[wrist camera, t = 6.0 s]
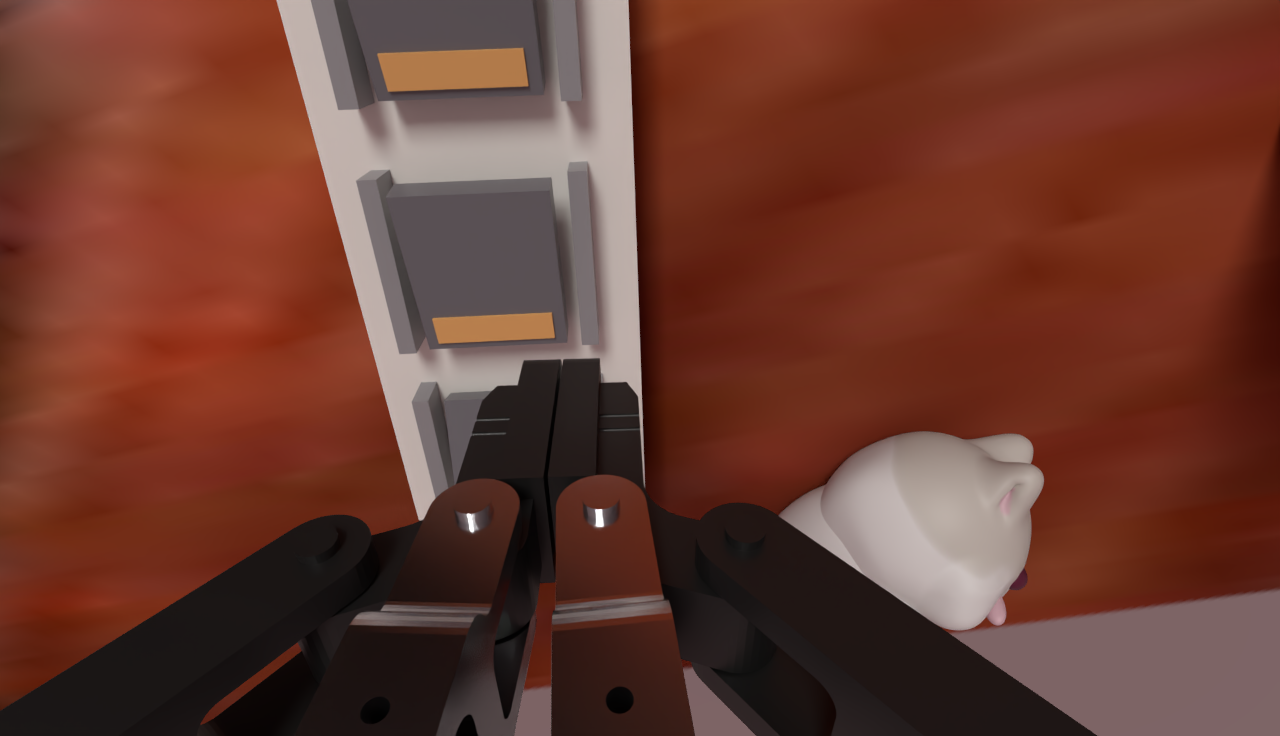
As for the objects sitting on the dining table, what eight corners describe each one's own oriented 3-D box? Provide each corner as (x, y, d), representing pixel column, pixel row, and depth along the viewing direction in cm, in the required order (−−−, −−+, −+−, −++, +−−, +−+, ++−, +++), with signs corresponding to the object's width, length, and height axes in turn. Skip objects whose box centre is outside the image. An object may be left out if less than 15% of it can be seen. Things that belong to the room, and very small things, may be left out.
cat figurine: (804, 763, 27) (1143, 600, 20) (679, 617, 29) (959, 415, 21) (839, 632, 36) (1088, 485, 29) (741, 523, 37) (957, 356, 30)
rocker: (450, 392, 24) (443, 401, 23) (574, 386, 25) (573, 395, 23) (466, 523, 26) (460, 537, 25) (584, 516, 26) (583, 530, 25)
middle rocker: (393, 183, 19) (384, 199, 18) (551, 177, 19) (548, 192, 19) (435, 332, 23) (429, 351, 22) (568, 326, 23) (567, 344, 22)
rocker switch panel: (277, -166, 18) (191, -211, 15) (619, -175, 19) (622, -222, 15) (435, 476, 30) (410, 543, 27) (642, 465, 31) (647, 530, 27)
